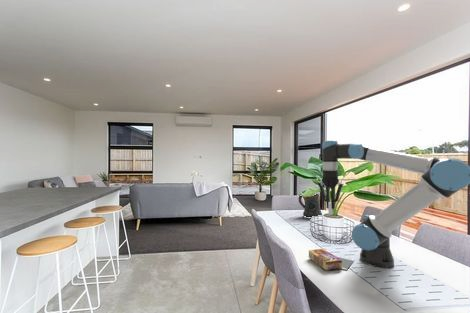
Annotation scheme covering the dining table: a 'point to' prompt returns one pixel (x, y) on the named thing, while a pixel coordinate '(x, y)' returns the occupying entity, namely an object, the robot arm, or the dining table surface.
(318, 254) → the candy box
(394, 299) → the dining table surface
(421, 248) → the dining table surface
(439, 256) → the dining table surface
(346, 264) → the mat
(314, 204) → the beer stein
